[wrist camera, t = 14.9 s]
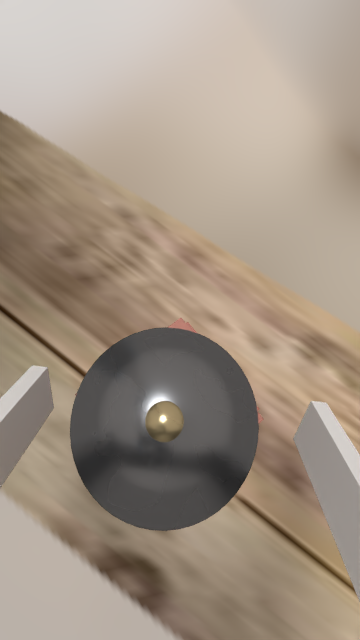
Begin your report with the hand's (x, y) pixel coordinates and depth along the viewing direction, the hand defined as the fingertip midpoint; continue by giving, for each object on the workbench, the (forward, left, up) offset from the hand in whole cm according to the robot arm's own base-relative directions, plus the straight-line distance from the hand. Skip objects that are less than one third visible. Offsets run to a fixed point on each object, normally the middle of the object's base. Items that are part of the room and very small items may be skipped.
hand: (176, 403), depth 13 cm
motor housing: (0, -1, -9) cm, 9 cm away
